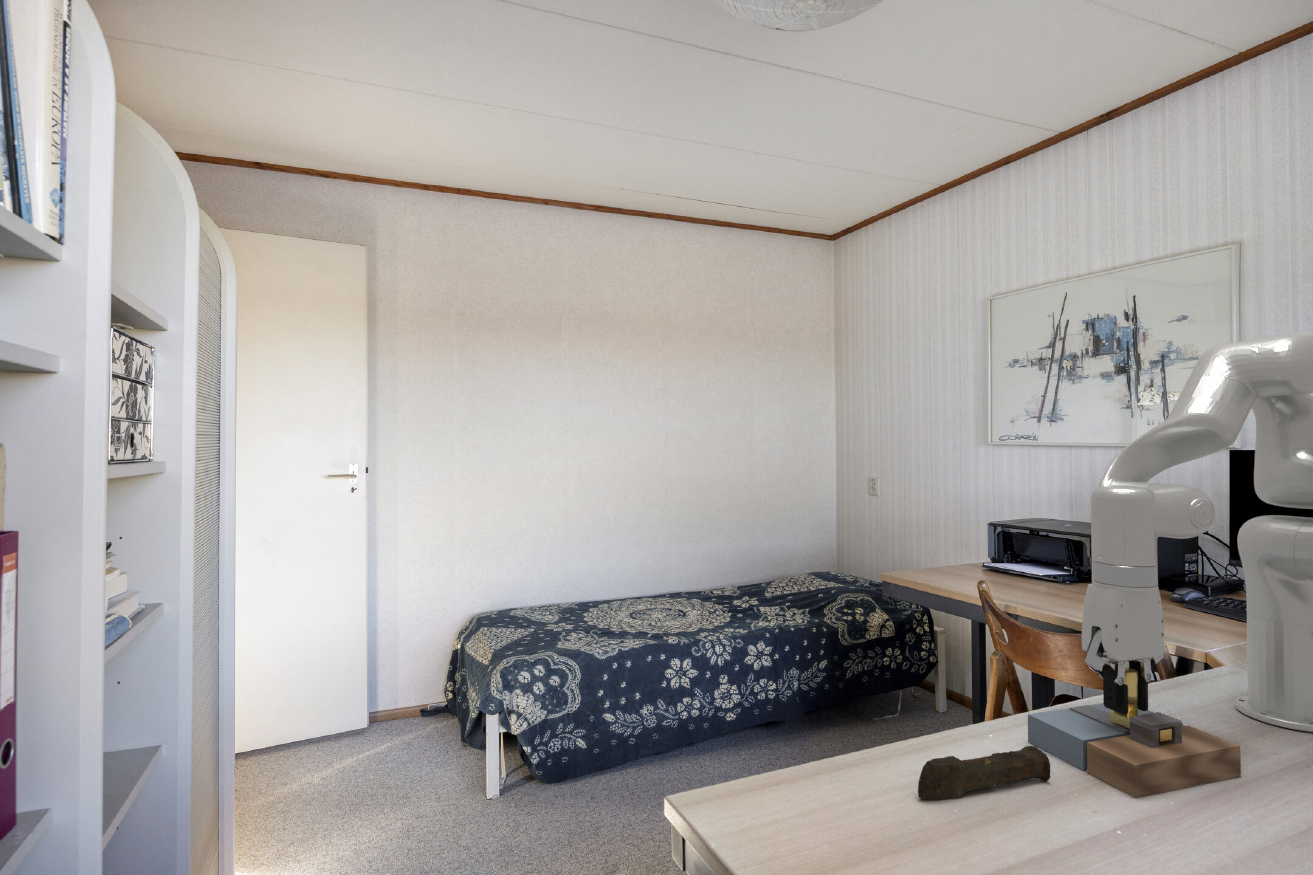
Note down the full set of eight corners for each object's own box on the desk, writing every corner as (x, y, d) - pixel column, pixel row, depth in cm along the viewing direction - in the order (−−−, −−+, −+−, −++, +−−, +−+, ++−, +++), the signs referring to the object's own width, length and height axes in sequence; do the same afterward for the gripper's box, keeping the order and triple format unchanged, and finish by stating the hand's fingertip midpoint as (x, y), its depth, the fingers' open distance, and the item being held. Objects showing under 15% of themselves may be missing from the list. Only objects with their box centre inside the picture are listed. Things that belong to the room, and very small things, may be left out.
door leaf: (1122, 726, 103) (1122, 698, 103) (1183, 752, 94) (1183, 721, 94) (1028, 741, 98) (1027, 711, 98) (1083, 770, 89) (1082, 737, 89)
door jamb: (1187, 754, 94) (1187, 704, 94) (1240, 776, 87) (1240, 723, 87) (1087, 772, 88) (1086, 719, 89) (1135, 797, 82) (1135, 741, 82)
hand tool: (1027, 770, 90) (1027, 735, 90) (1053, 784, 86) (1052, 748, 86) (904, 791, 85) (904, 754, 85) (925, 807, 81) (925, 768, 81)
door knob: (1123, 718, 95) (1122, 665, 95) (1174, 739, 88) (1173, 682, 88) (1107, 720, 94) (1107, 667, 94) (1158, 741, 87) (1157, 684, 87)
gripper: (1142, 567, 99) (1143, 692, 99) (1054, 574, 94) (1055, 705, 94) (1195, 577, 92) (1197, 712, 91) (1103, 584, 87) (1105, 727, 87)
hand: (1125, 707), depth 93 cm, fingers closed on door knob, 2 cm apart
